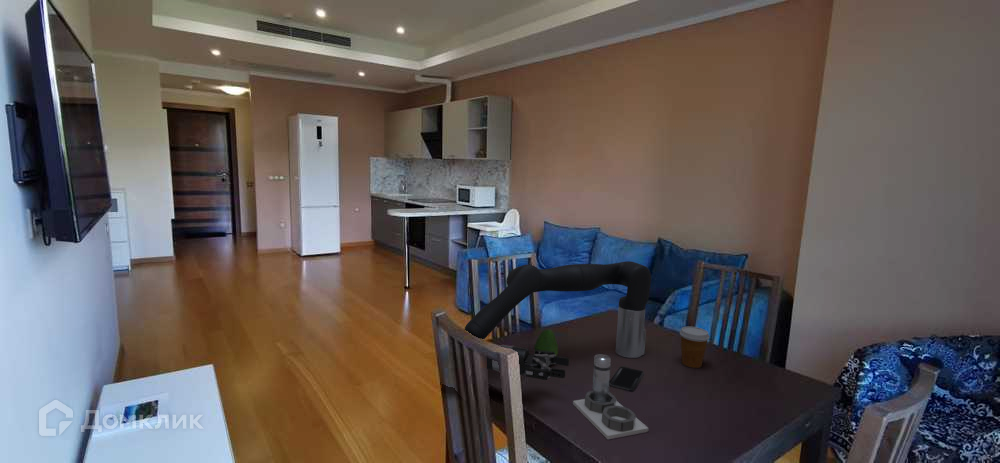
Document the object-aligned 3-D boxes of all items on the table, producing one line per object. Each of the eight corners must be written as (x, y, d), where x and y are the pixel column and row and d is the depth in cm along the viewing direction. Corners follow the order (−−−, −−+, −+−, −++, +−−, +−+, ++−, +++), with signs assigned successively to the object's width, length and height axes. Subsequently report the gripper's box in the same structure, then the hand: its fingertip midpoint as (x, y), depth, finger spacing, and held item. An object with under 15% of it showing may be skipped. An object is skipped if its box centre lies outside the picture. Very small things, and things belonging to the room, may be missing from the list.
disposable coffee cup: (676, 366, 161) (679, 333, 160) (677, 356, 170) (680, 324, 168) (706, 372, 158) (710, 337, 156) (706, 361, 167) (709, 328, 165)
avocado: (557, 359, 164) (558, 326, 162) (557, 369, 156) (559, 334, 155) (534, 358, 165) (535, 324, 163) (533, 367, 157) (534, 333, 155)
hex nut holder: (609, 398, 138) (610, 386, 138) (648, 431, 121) (649, 419, 121) (572, 404, 134) (573, 392, 134) (607, 439, 117) (608, 426, 117)
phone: (608, 383, 146) (620, 365, 159) (607, 387, 146) (620, 369, 159) (633, 390, 142) (644, 371, 155) (633, 393, 142) (644, 374, 155)
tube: (602, 400, 135) (605, 353, 133) (611, 408, 130) (614, 359, 129) (588, 402, 133) (591, 355, 131) (596, 410, 129) (599, 361, 127)
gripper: (505, 356, 129) (564, 365, 125) (516, 338, 143) (570, 346, 139) (503, 382, 130) (563, 392, 126) (515, 362, 144) (569, 370, 140)
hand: (567, 367), depth 132 cm, fingers open, 8 cm apart
